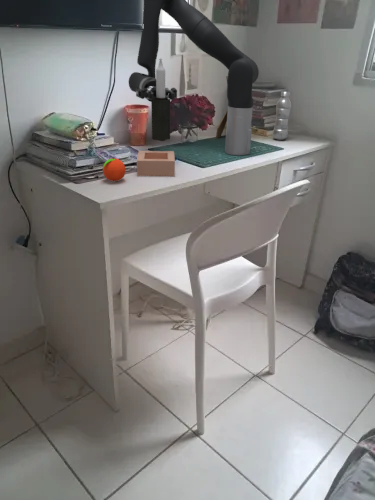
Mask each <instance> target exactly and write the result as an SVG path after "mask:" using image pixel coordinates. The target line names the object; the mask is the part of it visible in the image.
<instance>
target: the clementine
mask: <svg viewBox="0 0 375 500" xmlns="http://www.w3.org/2000/svg"><path fill="white" fill-rule="evenodd" d="M102 173H103V174H102V175H104V177H105V178H106V179H107V180H108V181H110V182H118V181H120V180H122V179H124V177H125V174H126V165H125V164H124V162H123V161H122V160H120V159H119V158H116V157H114V158H112V157H111V158H109V159H107V160H106V161H105V162H104V163H103V166H102Z"/></svg>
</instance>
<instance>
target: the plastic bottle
mask: <svg viewBox="0 0 375 500" xmlns="http://www.w3.org/2000/svg"><path fill="white" fill-rule="evenodd" d="M290 94H291V92H290V91H288V90H282V91H281V93H280V98H279V99H278V101H277V102H276V107H275V109H276V114H275V122H274V128H273V131H272V138H273V139H274V140H278V141H283V140H286V139H287V137H288V132H289V131H288V129H289V127H288V124H289V117H290V113H291V109H292V102H291V99H290V96H291V95H290Z"/></svg>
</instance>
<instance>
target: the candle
mask: <svg viewBox="0 0 375 500" xmlns="http://www.w3.org/2000/svg"><path fill="white" fill-rule="evenodd" d="M158 60H159V62H158V66H157V67H156V68H155V77H156V97H154V100H151V102H150V103H151V139H152V140H154V141H160V142H165V141H167V140H170V139H171V99H169V98H168V97H165V88H166V69H165V67H164V63H163V61H162V60H163V58H162V57H160V58H158Z"/></svg>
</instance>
